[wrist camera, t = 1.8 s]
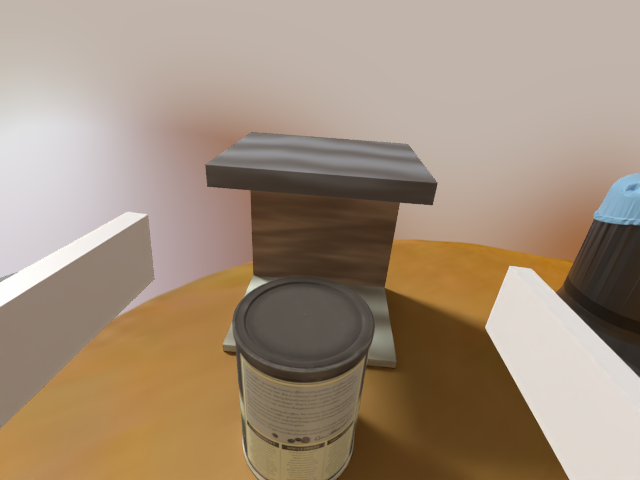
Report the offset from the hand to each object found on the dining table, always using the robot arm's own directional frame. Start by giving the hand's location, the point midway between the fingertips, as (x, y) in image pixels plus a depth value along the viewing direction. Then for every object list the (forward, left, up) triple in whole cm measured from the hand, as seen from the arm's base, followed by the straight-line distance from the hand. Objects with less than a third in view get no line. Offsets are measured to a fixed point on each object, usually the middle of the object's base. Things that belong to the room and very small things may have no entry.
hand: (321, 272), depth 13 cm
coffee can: (-5, -7, -24) cm, 25 cm away
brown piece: (-17, -19, -24) cm, 35 cm away
